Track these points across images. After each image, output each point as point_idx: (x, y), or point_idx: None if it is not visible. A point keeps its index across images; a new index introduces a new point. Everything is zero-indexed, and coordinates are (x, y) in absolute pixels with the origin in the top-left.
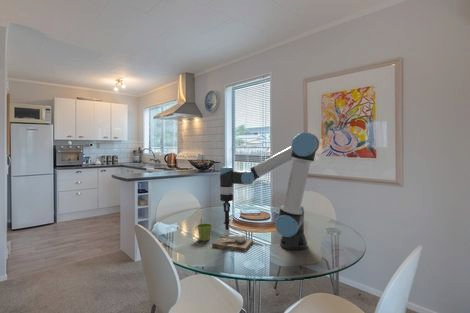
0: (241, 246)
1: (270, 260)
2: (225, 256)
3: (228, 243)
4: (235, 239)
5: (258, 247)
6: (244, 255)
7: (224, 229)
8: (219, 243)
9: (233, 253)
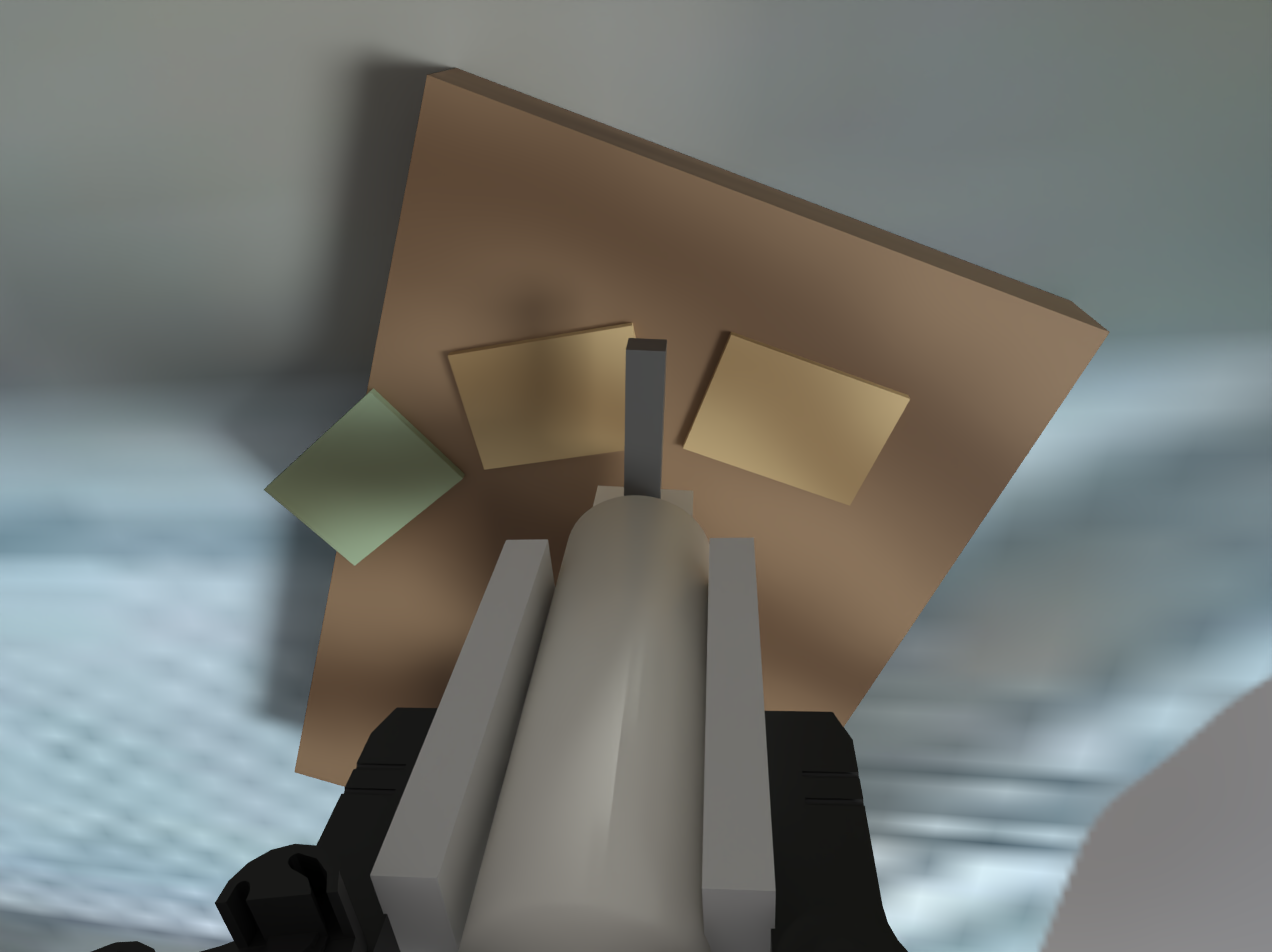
0: (357, 723)
1: (117, 927)
2: (12, 422)
3: (487, 508)
4: (761, 644)
5: None
6: (169, 699)
7: (600, 623)
8: (460, 297)
9: (197, 553)
